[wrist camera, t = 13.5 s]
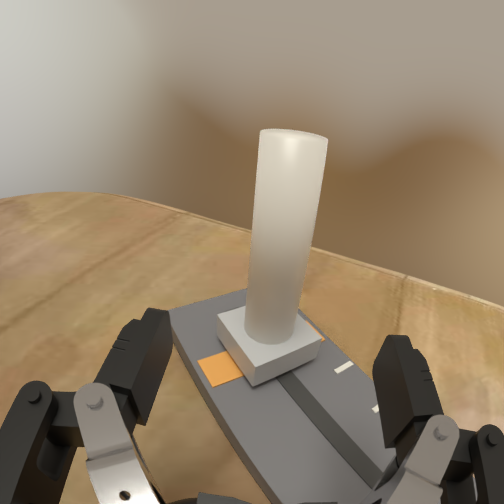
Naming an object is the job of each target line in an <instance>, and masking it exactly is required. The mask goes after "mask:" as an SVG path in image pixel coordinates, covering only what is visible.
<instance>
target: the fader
mask: <svg viewBox="0 0 504 504" xmlns="http://www.w3.org/2000/svg"><path fill="white" fill-rule="evenodd" d="M327 145H328V139H327V138H325V137H323V136H320V135H317V134H312V133H308V132H303V131H297V130H288V129H265V130H261V131H260V140H259V152H258V164H257V176H256V188H255V200H254V213H253V224H252V236H251V248H250V260H249V272H248V284H247V296H246V306H243V307H240V308H237V309H233V310H230V311H227V312H224V313H220V314H217V336H218V338H219V339H220V341H221V342H222V343H223V345H224V346H225V348H226V349H227V351H228V352H229V354H230V355H231V357H232V358H233V360H234V361H235V362H236V364H237V365H238V367H239V368H240V370H241V371H242V372H243V374H244V375H245V377H246V378H247V379H248V381H249V382H250V384H251V385H252V386H255V385H258V384H260V383H262V382H265V381H267V380H269V379H272V378H274V377H276V376H278V375H281V374H283V373H285V372H287V371H289V370H292V369H294V368H296V367H298V366H300V365H302V364H304V363H306V362H308V361H310V360H313V359H315V358H316V356H317V353H318V350H319V347H320V344H321V340H322V337H321V336H320V335H319V334H318V333H317V332H316V331H315V330H314V329H313V328H312V327H311V326H310V325H309V324H308V323H307V322H306V321H305V320H304V319H303V318H302V317H301V316H300V315H299V314H298V313H297V312H298V307H299V303H300V298H301V293H302V288H303V284H304V279H305V274H306V269H307V264H308V258H309V253H310V248H311V243H312V237H313V232H314V226H315V220H316V214H317V209H318V203H319V197H320V191H321V184H322V178H323V172H324V166H325V159H326V152H327Z"/></svg>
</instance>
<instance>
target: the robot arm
mask: <svg viewBox="0 0 504 504" xmlns="http://www.w3.org/2000/svg"><path fill="white" fill-rule="evenodd" d="M112 347H113V348H112V349H111V350H110V352H109V354H108V356H107V358H106V359H105V361H104V363H103V365H102V367H101V369H100V371H99V373H98V375H97V377H96V378H95V380H94V382H93V383H89V384H86V385H84V386H82V387H81V388H80V389H79V390H78V391H77V392H55V391H52V390H51V389H50V387H49V386H48V385H47V384H46V383H44V382H42V381H31V382H29V383H27V384H25V385H24V386H23V387H22V388H21V389H20V391H19V393H18V395H17V396H16V398H15V400H14V402H13V404H12V406H11V408H10V410H9V412H8V414H7V416H6V418H5V420H4V422H3V424H2V426H1V429H0V504H59V502H60V498H61V495H62V492H63V488H64V485H65V482H66V479H67V476H68V473H69V470H70V467H71V464H72V461H73V458H74V455H75V452H76V449H77V447H85V449H86V452H87V456H88V459H87V460H86V466H87V470H88V473H89V476H90V479H91V482H92V485H93V487H94V490H95V493H96V495H97V498H98V500H99V503H100V504H167V503H166V501H165V499H164V497H163V495H162V493H161V492H160V490H159V488H158V486H157V484H156V482H155V481H154V479H153V477H152V475H151V473H150V471H149V469H148V467H147V465H146V463H145V460H144V458H143V456H142V454H141V452H140V449H139V447H138V445H137V442H136V440H135V438H134V435H133V431H134V428H135V425H136V424H140V425H144V426H146V423H147V420H148V417H149V414H150V411H151V409H152V406H153V403H154V400H155V397H156V395H157V392H158V389H159V386H160V383H161V381H162V378H163V375H164V372H165V370H166V367H167V364H168V362H169V359H170V356H171V353H172V347H173V337H172V330H171V322H170V314H169V311H166V310H160V309H154V308H147V310H146V311H145V313H144V315H143V317H142V319H141V320H136V319H133V320H131V321H130V322H129V323H128V324H127V325H125V326H124V327H123V328H122V330H121V332H120V334H119V335H118V337H117V340H116V341H115V343H114V345H113V346H112ZM429 371H430V370H429V367H428V364H427V361H426V359H425V358H424V356H423V355H422V354H421V353H420V351H419V350H418V349H413V347H412V344H411V342H410V339H409V337H408V336H407V335H388V336H387V337H386V339H385V341H384V343H383V345H382V347H381V349H380V351H379V353H378V355H377V357H376V359H375V361H374V364H373V371H372V374H373V381H374V386H375V391H376V397H377V402H378V408H379V414H380V420H381V426H382V432H383V439H384V446H385V449H386V448H395V449H396V454H395V455H394V457H393V458H392V460H391V461H390V463H389V464H388V466H387V468H386V469H385V471H384V472H383V474H382V475H381V477H380V478H379V480H378V481H377V483H376V484H375V486H374V487H373V489H372V490H371V491H370V493H369V494H368V495H367V496H366V497H365V498H364V499H363V500H362V501H361V502H360V503H359V504H437V503H438V501H439V499H440V501H441V504H504V435H503V433H502V431H501V430H500V429H499V428H498V427H497V426H495V425H491V424H488V425H485V426H483V427H482V428H481V429H480V430H478V431H477V432H475V431H469V430H464V429H459V428H458V426H457V424H456V423H455V421H454V420H453V419H451V418H450V417H448V416H446V415H444V413H443V410H442V407H441V403H440V400H439V397H438V394H437V391H436V388H435V384H434V381H432V380H433V378H432V375H431V373H430V372H429ZM473 474H474V475H475V482H476V488H477V501H476V495H475V488H474V481H473ZM169 504H251V503H248V502H245V501H242V500H239V499H236V498H233V497H225V496H219V495H212V494H206V493H201V492H199V494H198V498H189V499H182V500H178V501H175V502H172V503H169ZM299 504H338V502H304V503H299Z"/></svg>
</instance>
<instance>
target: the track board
mask: <svg viewBox="0 0 504 504" xmlns="http://www.w3.org/2000/svg"><path fill="white" fill-rule="evenodd" d="M246 296H247V288H246V289H242V290H239V291H236V292H232V293H229V294H225V295H222V296H218V297H214V298H211V299H207V300H204V301H200V302H197V303H193V304H189V305H186V306H182V307H178V308H175V309H171V310H167V311H169V314H170V322H171V330H172V337H173V342H174V344H175V346H176V348H177V350H178V352H179V354H180V356H181V358H182V360H183V362H184V364H185V366H186V368H187V369H188V371H189V373H190V375H191V377H192V379H193V380H194V382H195V384H196V386H197V388H198V389H199V391H200V393H201V395H202V397H203V398H204V400H205V402H206V404H207V405H208V407H209V409H210V410H211V412H212V414H213V415H214V417H215V419H216V421H217V422H218V424H219V425H220V427H221V429H222V430H223V432H224V434H225V435H226V437H227V438H228V440H229V442H230V443H231V445H232V446H233V448H234V449H235V451H236V453H237V454H238V456H239V457H240V459H241V460H242V462H243V463H244V465H245V466H246V468H247V469H248V471H249V472H250V474H251V475H252V476H253V478H254V479H255V481H256V482H257V484H258V485H259V486H260V488H261V489H262V491H263V492H264V493H265V495H266V496H267V498H268V499H269V500H270V502H271V503H272V504H299V503H304V502H338V504H359V503H360V502H361V501H362V500H363V499H364V498H365V497H366V496H367V495H368V494H369V493H370V491H371V490H372V489H373V487H374V486H375V484H376V483H377V481H378V480H379V478H380V477H381V475H382V474H383V472H384V471H385V469H386V468H387V466H388V464H389V463H390V461H391V460H392V458H393V457H394V455H395V454H396V449H395V448H386V449H385V446H384V439H383V432H382V426H381V420H380V414H379V408H378V402H377V397H376V391H375V386H374V382H373V381H372V380H371V379H370V378H369V377H368V376H367V375H366V374H365V373H364V372H363V371H362V370H361V369H360V368H359V367H358V366H357V365H356V364H355V363H354V362H353V361H352V360H351V359H350V358H349V357H348V356H347V355H346V354H344V353H343V352H342V351H341V350H340V349H339V348H338V347H337V346H336V345H335V344H334V343H333V342H332V341H331V340H330V339H329V338H328V337H327V336H326V335H325V334H324V333H323V332H322V331H321V330H320V329H319V328H318V327H317V326H316V325H315V324H314V323H313V322H312V321H311V320H310V319H309V318H308V317H307V316H306V315H305V314H304V313H303V312H302V311H301V310H300V309H298V312H297V313H298V314H299V315H300V316H301V317H302V318H303V319H304V320H305V321H306V322H307V323H308V324H309V325H310V326H311V327H312V328H313V329H314V330H315V331H316V332H317V333H318V334H319V335H320V336H321V337H322V340H321V344H320V347H319V350H318V353H317V356H316V358H315V359H313V360H310V361H308V362H306V363H304V364H302V365H300V366H298V367H296V368H294V369H292V370H289V371H287V372H285V373H283V374H281V375H278V376H276V377H274V378H272V379H269V380H267V381H265V382H262V383H260V384H258V385H255V386H252V385H251V384H250V382H249V381H248V379H247V378H246V377H245V375H244V374H243V372H242V371H241V370H240V368H239V367H238V365H237V364H236V362H235V361H234V360H233V358H232V357H231V355H230V354H229V352H228V351H227V349H226V348H225V346H224V345H223V343H222V342H221V341H220V339H219V338H218V336H217V314H220V313H224V312H227V311H230V310H233V309H237V308H240V307H243V306H246ZM473 481H474V488H475V495H476V501H477V488H476V482H475V479H474V478H473ZM437 504H441V501H440V499H439V501H438V503H437Z"/></svg>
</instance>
